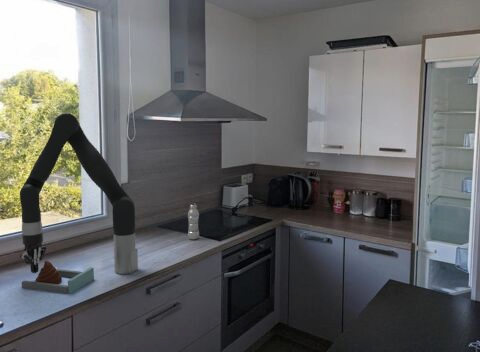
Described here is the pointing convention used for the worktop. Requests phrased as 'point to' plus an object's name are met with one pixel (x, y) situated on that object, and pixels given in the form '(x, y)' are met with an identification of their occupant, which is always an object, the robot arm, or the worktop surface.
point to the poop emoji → (49, 274)
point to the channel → (74, 284)
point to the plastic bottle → (193, 222)
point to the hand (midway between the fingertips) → (34, 272)
